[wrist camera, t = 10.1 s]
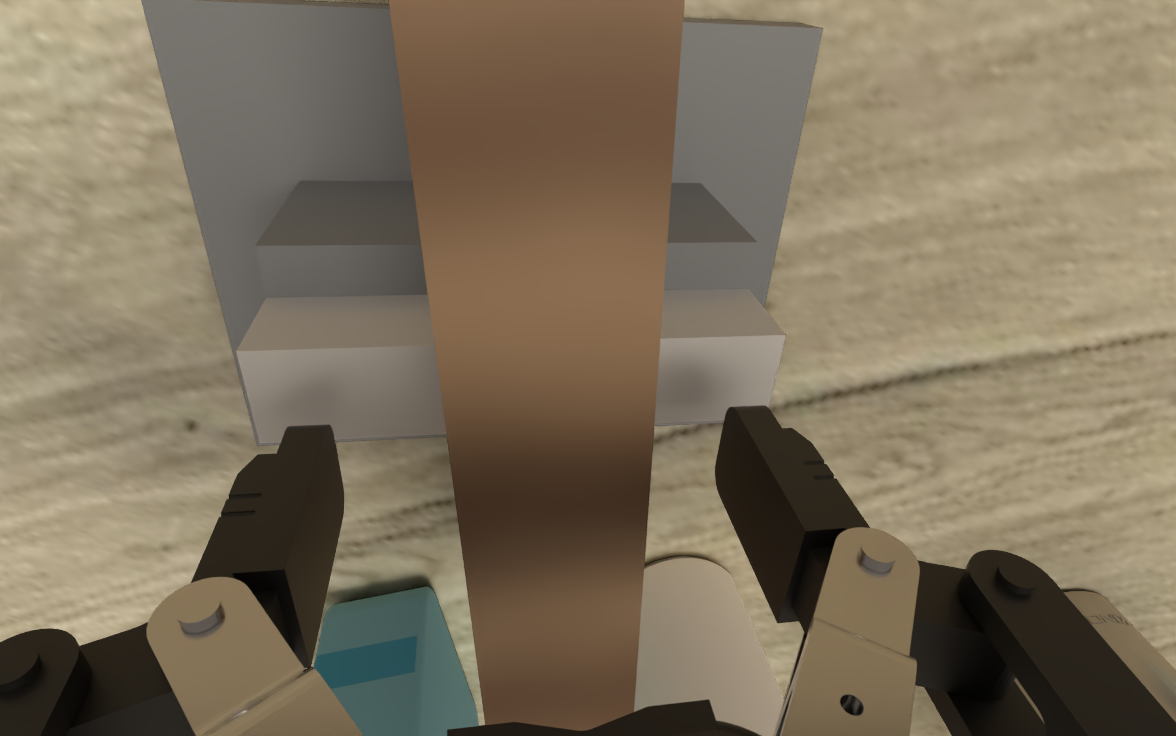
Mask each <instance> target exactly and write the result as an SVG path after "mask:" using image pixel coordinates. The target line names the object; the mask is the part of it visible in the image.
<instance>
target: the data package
mask: <svg viewBox="0 0 1176 736" xmlns="http://www.w3.org/2000/svg"><path fill="white" fill-rule="evenodd" d="M314 668H315V669H316V670H317V671H318V673H319V674H320V675H321V676H322V678H323V679H324V680H325V682H326V683H327V685H328V686H329V688H330V689H331V690H332V692H333V693H334V695H335V696H336V697H337V699H338V700H339V702H340V703H341V705H342V706H343V707H344V709H345V710H346V712H347V713H348V714H349V716H350V717H351V719H352V720H353V722H354V723H355V724H356V726H357V727H358V729H359V730H360V731H361V733H362V734H363V736H447V730H448V729H456V728H465V727H474V726H479V724H478V717H477V712H476V707H475V704H474V701H473V698H472V695H471V692H470V689H469V687H468V684H467V681H466V678H465V676H464V673H463V670H462V667H461V664H460V662H459V659H458V656H457V653H456V650H455V648H454V645H453V642H452V639H451V636H450V634H449V631H448V628H447V625H446V623H445V620H444V617H443V614H442V611H441V609H440V606H439V603H438V600H437V597H436V595H435V593H434V591H433V590H432V589H431V588H429V587H422V588H416V589H411V590H406V591H401V592H396V593H391V594H386V595H380V596H375V597H370V598H365V599H360V600H355V601H350V602H345V603H339V604H335V605H333V606H332V607H331V608H330V609H329V610H328V611H327V613H326V616H325V618H324V622H323V627H322V631H321V636H320V641H319V646H318V650H317V655H316V660H315V665H314Z"/></svg>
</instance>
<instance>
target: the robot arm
mask: <svg viewBox="0 0 1176 736" xmlns="http://www.w3.org/2000/svg"><path fill="white" fill-rule="evenodd" d="M715 478H716V486H717V490H718V493H719V496H720V498H721V500H722V502H723V504H724V507H725V509H726V511H727V513H728V515H729V518H730V520H731V522H732V524H733V526H734V529H735V531H736V533H737V535H738V537H739V540H740V542H741V544H742V546H743V548H744V551H745V553H746V555H747V557H748V559H749V562H750V564H751V566H752V568H753V570H754V573H755V575H756V577H757V579H758V581H759V584H760V586H761V588H762V590H763V592H764V595H765V597H766V599H767V601H768V603H769V606H770V608H771V610H772V612H773V614H774V617H775V619H776V621H777V623H785V622H795V621H799V622H800V624H801V626H802V628H803V630H804V634H803V637H802V640H801V643H800V646H799V650H798V653H797V657H796V660H795V664H794V667H793V670H792V674H791V677H790V681H789V684H788V688H787V691H786V694H785V698H784V701H783V705H782V708H781V711H780V715H779V718H778V722H777V725H776V728H775V731H774V735H773V736H909V733H910V725H911V716H912V707H913V698H914V690H915V685H917V686H922V687H925V689H926V691H927V693H928V694H929V696H930V698H931V700H932V701H933V703H934V705H935V707H936V708H937V710H938V712H939V714H940V716H941V717H942V719H943V721H944V723H945V724H946V726H947V728H948V730H949V731H950V733H951V735H952V736H1176V670H1175V668H1174V667H1173V666H1172V665H1171V664H1170V663H1169V662H1168V661H1167V660H1166V659H1165V658H1164V657H1163V656H1162V655H1161V654H1160V653H1159V652H1158V651H1157V650H1156V649H1155V648H1154V647H1153V646H1152V645H1151V644H1150V643H1149V642H1148V641H1147V640H1146V639H1145V638H1144V637H1143V636H1142V635H1141V634H1140V633H1139V632H1138V631H1137V630H1136V629H1135V628H1134V627H1133V626H1132V624H1131V623H1130V622H1129V621H1128V620H1127V619H1126V618H1125V617H1124V616H1123V615H1122V614H1121V613H1120V612H1119V611H1118V610H1117V609H1116V608H1115V607H1114V606H1113V605H1112V604H1111V603H1110V602H1109V601H1108V600H1107V599H1106V598H1105V597H1103V596H1101V595H1099V594H1097V593H1093V592H1087V591H1070V592H1063V591H1062V590H1061V589H1060V588H1059V587H1058V586H1057V584H1056V583H1055V582H1054V581H1053V580H1052V579H1051V578H1050V577H1049V576H1048V575H1047V574H1046V573H1045V572H1044V571H1043V570H1042V569H1040V568H1039V567H1038V566H1036V565H1035V564H1033V563H1031V562H1030V561H1028V560H1026V559H1024V558H1022V557H1020V556H1017V555H1014V554H1012V553H1008V552H1004V551H998V550H985V551H981V552H978V553H976V554H974V555H973V556H972V557H971V559H970V561H969V563H968V565H967V567H966V569H960V568H955V567H949V566H943V565H938V564H932V563H927V562H922V561H918V560H917V559H916V557H915V555H914V554H913V552H912V551H911V550H910V549H909V548H908V547H907V546H906V545H905V544H904V543H902V542H901V541H900V540H898V539H897V538H895V537H893V536H891V535H890V534H887V533H885V532H883V531H879V530H876V529H872V528H870V527H869V526H868V524H867V523H866V521H865V520H864V518H863V517H862V515H861V514H860V512H859V511H858V510H857V508H856V507H855V505H854V504H853V502H852V501H851V499H850V498H849V496H848V495H847V493H846V492H845V491H844V489H843V488H842V486H841V485H840V483H839V482H838V480H837V479H834V475H833V473H832V472H831V470H830V469H829V467H828V466H827V464H824V460H823V459H822V457H821V456H820V454H819V453H818V451H817V450H816V448H815V447H814V445H813V444H812V443H811V442H810V441H809V440H807V439H806V438H805V437H803V436H802V435H801V434H799V433H798V432H796V431H795V430H794V429H792V428H781V426H780V424H779V423H778V421H777V420H776V418H775V417H774V415H773V414H772V412H771V411H770V409H769V408H768V407H767V406H765V405H759V406H738V407H729V408H728V410H727V411H726V414H725V419H724V424H723V429H722V434H721V439H720V445H719V450H718V455H717V460H716V466H715ZM343 513H344V489H343V482H342V477H341V471H340V466H339V460H338V455H337V449H336V444H335V439H334V433H333V430H332V427H331V425H329V424H325V425H304V426H288V427H287V428H286V430H285V432H284V435H283V438H282V441H281V443H280V446H279V449H278V451H277V454H260V455H257V456H256V457H255V458H254V459H253V460H252V461H251V462H250V463H249V464H248V465H247V466H245V467H244V468H243V469H242V470H241V471H240V472H239V473H238V475H237V477H236V479H235V482H234V484H233V486H232V489H231V491H230V493H229V499H227V500H226V502H225V505H224V507H223V509H222V512H221V517H219V519H218V521H217V523H216V526H215V528H214V530H213V533H212V535H211V537H210V540H209V542H208V544H207V547H206V549H205V551H204V554H203V556H202V558H201V561H200V563H199V565H198V568H197V570H196V572H195V575H194V577H193V579H192V582H191V583H190V584H188V585H186V586H184V587H182V588H180V589H178V590H177V591H175V592H174V593H172V594H171V595H169V596H168V597H167V598H166V599H165V600H164V601H162V602H161V603H160V605H159V606H158V607H157V608H156V609H155V611H154V612H153V614H152V615H151V617H150V619H149V622H147V623H145V624H143V625H141V626H138V627H136V628H133V629H130V630H128V631H124V632H121V633H118V634H115V635H112V636H109V637H106V638H103V639H100V640H97V641H94V642H91V643H88V644H85V645H81V646H79V644H78V643H77V641H76V639H75V638H74V637H73V636H72V635H71V634H69V633H68V632H66V631H63V630H59V629H38V630H32V631H28V632H25V633H21V634H18V635H16V636H13V637H11V638H8V639H6V640H4V641H2V642H0V736H363V734H362V733H361V731H360V730H359V729H358V727H357V726H356V724H355V723H354V722H353V720H352V719H351V717H350V716H349V714H348V713H347V712H346V710H345V709H344V707H343V706H342V705H341V703H340V702H339V700H338V699H337V697H336V696H335V695H334V693H333V692H332V690H331V689H330V688H329V686H328V685H327V683H326V682H325V680H324V679H323V678H322V676H321V675H320V674H319V673H318V671H317V670H316V669H315V668H313V667H311V664H312V659H313V654H314V650H315V645H316V641H317V636H318V631H319V627H320V622H321V617H322V613H323V608H324V603H325V599H326V594H327V589H328V585H329V580H330V575H331V571H332V566H333V561H334V557H335V552H336V547H337V543H338V538H339V534H340V529H341V524H342V519H343ZM305 668H307V669H305ZM447 736H761V735H759V734H757V733H756V732H753V731H751V730H748V729H746V728H743V727H741V726H738V725H734V724H731V723H727V722H723V721H717V720H716V719H715V716H714V713H713V709H712V706H711V703H710V700H709V699H708V700H699V701H691V702H682V703H673V704H665V705H656V706H648V707H645V708H643V709H640V710H638V711H635V712H633V713H630V714H628V715H625V716H623V717H620V718H618V719H615V720H613V721H610V722H608V723H605V724H603V725H600V726H598V727H595V728H593V729H590V730H585V731H577V730H570V729H563V728H555V727H548V726H541V725H534V724H527V723H520V722H508V723H500V724H491V725H482V726H474V727H465V728H456V729H448V730H447Z"/></svg>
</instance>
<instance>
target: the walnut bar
mask: <svg viewBox="0 0 1176 736" xmlns="http://www.w3.org/2000/svg"><path fill="white" fill-rule="evenodd" d="M389 7H390V15H391V22H392V30H393V37H394V45H395V52H396V60H397V67H398V75H399V82H400V90H401V97H402V105H403V112H404V119H405V127H406V134H407V142H408V149H409V157H410V164H411V172H412V179H413V187H414V194H415V202H416V209H417V217H418V224H419V232H420V239H421V247H422V254H423V262H424V269H425V277H426V284H427V292H428V299H429V307H430V314H431V322H432V329H433V336H434V344H435V351H436V359H437V366H438V374H439V381H440V389H441V396H442V404H443V411H444V419H445V426H446V434H447V441H448V449H449V456H450V464H451V471H452V479H453V486H454V494H455V501H456V509H457V516H458V524H459V531H460V539H461V546H462V553H463V561H464V568H465V576H466V583H467V591H468V598H469V606H470V613H471V621H472V628H473V636H474V643H475V651H476V658H477V666H478V673H479V681H480V688H481V696H482V703H483V711H484V718H485V725H491V724H500V723H508V722H520V723H527V724H534V725H541V726H548V727H555V728H563V729H570V730H577V731H585V730H590V729H593V728H595V727H598V726H600V725H603V724H605V723H608V722H610V721H613V720H615V719H618V718H620V717H623V716H625V715H628V714H630V713H633V712H634V704H635V690H636V676H637V662H638V648H639V634H640V620H641V606H642V592H643V578H644V563H645V549H646V535H647V521H648V507H649V493H650V479H651V465H652V451H653V437H654V423H655V409H656V394H657V380H658V366H659V352H660V338H661V324H662V310H663V296H664V282H665V268H666V254H667V240H668V226H669V211H670V197H671V183H672V169H673V155H674V141H675V127H676V113H677V99H678V85H679V71H680V57H681V42H682V28H683V14H684V0H389Z"/></svg>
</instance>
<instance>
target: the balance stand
mask: <svg viewBox="0 0 1176 736" xmlns="http://www.w3.org/2000/svg"><path fill="white" fill-rule="evenodd" d="M141 1H142V5H143V9H144V13H145V17H146V20H147V24H148V28H149V32H150V36H151V40H152V43H153V47H154V51H155V55H156V59H157V63H158V67H159V70H160V74H161V78H162V82H163V86H164V90H165V93H166V97H167V101H168V105H169V109H170V113H171V117H172V120H173V124H174V128H175V132H176V136H177V140H178V143H179V147H180V151H181V155H182V159H183V163H184V167H185V170H186V174H187V178H188V182H189V186H190V190H191V193H192V197H193V201H194V205H195V209H196V213H197V216H198V220H199V224H200V228H201V232H202V236H203V240H204V243H205V247H206V251H207V255H208V259H209V263H210V266H211V270H212V274H213V278H214V282H215V286H216V290H217V293H218V297H219V301H220V305H221V309H222V313H223V316H224V320H225V324H226V328H227V332H228V336H229V339H230V343H231V347H232V351H233V355H234V359H235V363H236V366H237V370H238V374H239V378H240V382H241V386H242V389H243V393H244V397H245V401H246V405H247V409H248V413H249V416H250V420H251V424H252V428H253V432H254V436H255V439H256V443H257V446H269V445H280V443H281V441H282V438H283V435H284V432H285V430H286V428H287V427H288V426H304V425H325V424H329V425H331V427H332V430H333V433H334V439H335V442H349V441H369V440H388V439H408V438H428V437H447V434H446V426H445V419H444V411H443V404H442V396H441V389H440V381H439V374H438V366H437V359H436V351H435V344H434V336H433V329H432V322H431V314H430V307H429V299H428V292H427V284H426V277H425V269H424V262H423V254H422V247H421V239H420V232H419V224H418V217H417V209H416V202H415V194H414V187H413V179H412V172H411V164H410V157H409V149H408V142H407V134H406V127H405V119H404V112H403V105H402V97H401V90H400V82H399V75H398V67H397V60H396V52H395V45H394V37H393V30H392V22H391V15H390V7H389V4H370V3H348V2H326V1H304V0H141ZM822 31H823V28H819V27H815V26H811V25H807V24H803V23H789V22H767V21H745V20H723V19H701V18H683V28H682V42H681V57H680V71H679V85H678V99H677V113H676V127H675V141H674V155H673V169H672V183H671V197H670V211H669V226H668V240H667V254H666V268H665V282H664V296H663V310H662V324H661V338H660V352H659V366H658V380H657V394H656V409H655V423H654V426H668V425H688V424H708V423H724V419H725V414H726V411H727V410H728V408H729V407H738V406H759V405H765V406H767V407H768V408H769V405H770V401H771V397H772V392H773V388H774V384H775V380H776V375H777V371H778V367H779V363H780V358H781V354H782V350H783V345H784V341H785V337H786V334H785V333H784V332H783V331H782V329H781V328H780V327H779V326H778V325H777V323H776V322H775V321H774V320H773V318H772V317H771V316H770V315H769V313H768V312H767V311H766V310H765V308H764V307H765V303H766V298H767V293H768V288H769V283H770V279H771V274H772V269H773V264H774V260H775V255H776V250H777V245H778V241H779V236H780V231H781V226H782V222H783V217H784V212H785V207H786V203H787V198H788V193H789V188H790V183H791V179H792V174H793V169H794V164H795V160H796V155H797V150H798V145H799V141H800V136H801V131H802V126H803V122H804V117H805V112H806V107H807V103H808V98H809V93H810V88H811V83H812V79H813V74H814V69H815V64H816V60H817V55H818V50H819V45H820V41H821V36H822Z"/></svg>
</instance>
